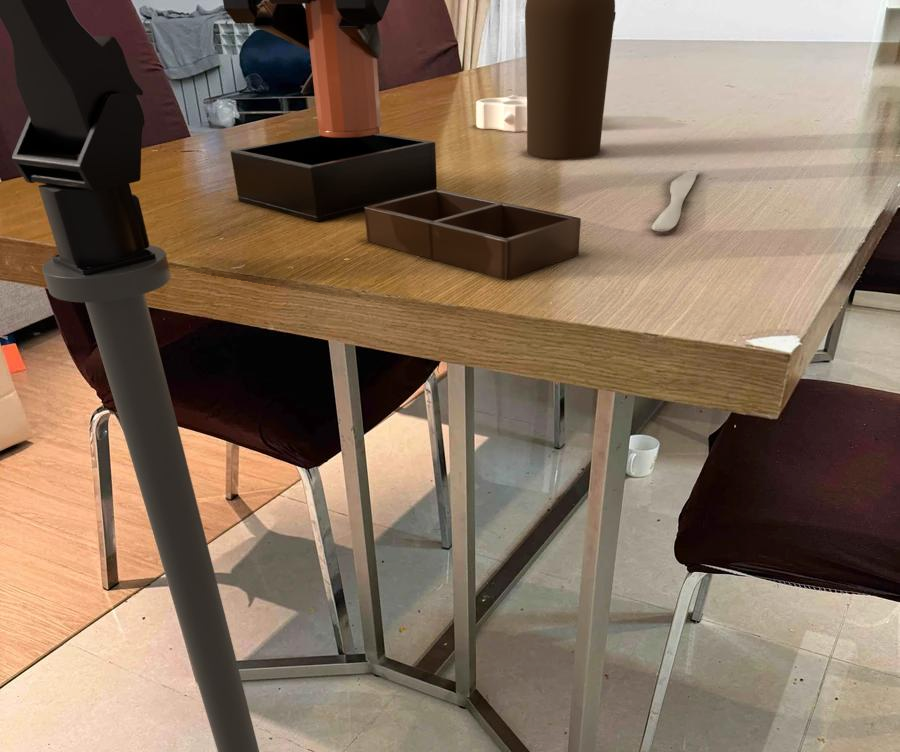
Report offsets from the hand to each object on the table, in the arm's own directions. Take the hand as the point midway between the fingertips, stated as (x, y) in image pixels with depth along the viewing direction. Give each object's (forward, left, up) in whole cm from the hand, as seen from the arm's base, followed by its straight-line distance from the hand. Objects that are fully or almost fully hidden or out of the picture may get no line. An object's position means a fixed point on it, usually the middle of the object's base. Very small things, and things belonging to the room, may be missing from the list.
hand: (351, 53), depth 88 cm
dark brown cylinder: (+30, -5, -13) cm, 33 cm away
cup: (-1, 0, -7) cm, 7 cm away
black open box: (-4, -1, -13) cm, 14 cm away
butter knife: (+17, -31, -13) cm, 37 cm away
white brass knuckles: (+44, +12, -13) cm, 47 cm away
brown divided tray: (-9, -27, -13) cm, 31 cm away
